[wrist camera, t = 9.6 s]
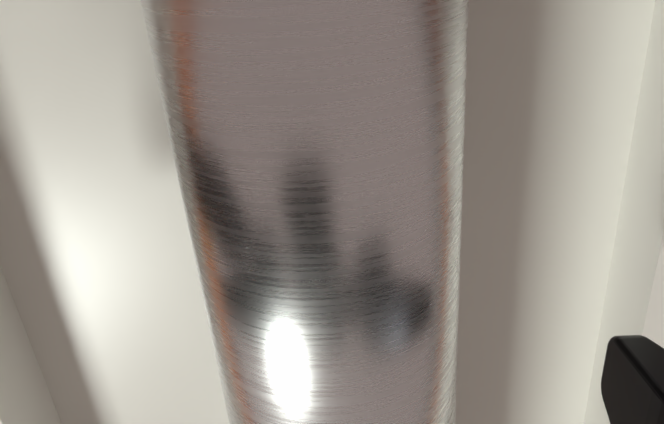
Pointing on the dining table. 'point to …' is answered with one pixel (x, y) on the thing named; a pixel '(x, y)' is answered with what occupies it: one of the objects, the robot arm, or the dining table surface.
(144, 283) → the tray
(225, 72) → the pin
